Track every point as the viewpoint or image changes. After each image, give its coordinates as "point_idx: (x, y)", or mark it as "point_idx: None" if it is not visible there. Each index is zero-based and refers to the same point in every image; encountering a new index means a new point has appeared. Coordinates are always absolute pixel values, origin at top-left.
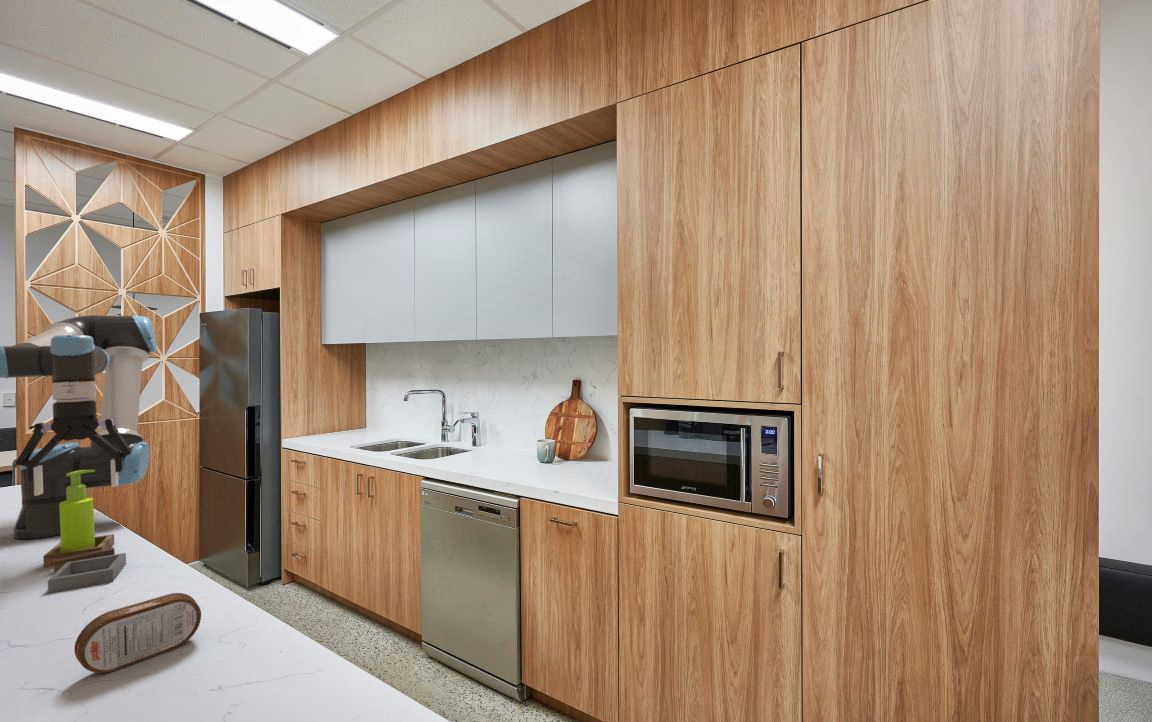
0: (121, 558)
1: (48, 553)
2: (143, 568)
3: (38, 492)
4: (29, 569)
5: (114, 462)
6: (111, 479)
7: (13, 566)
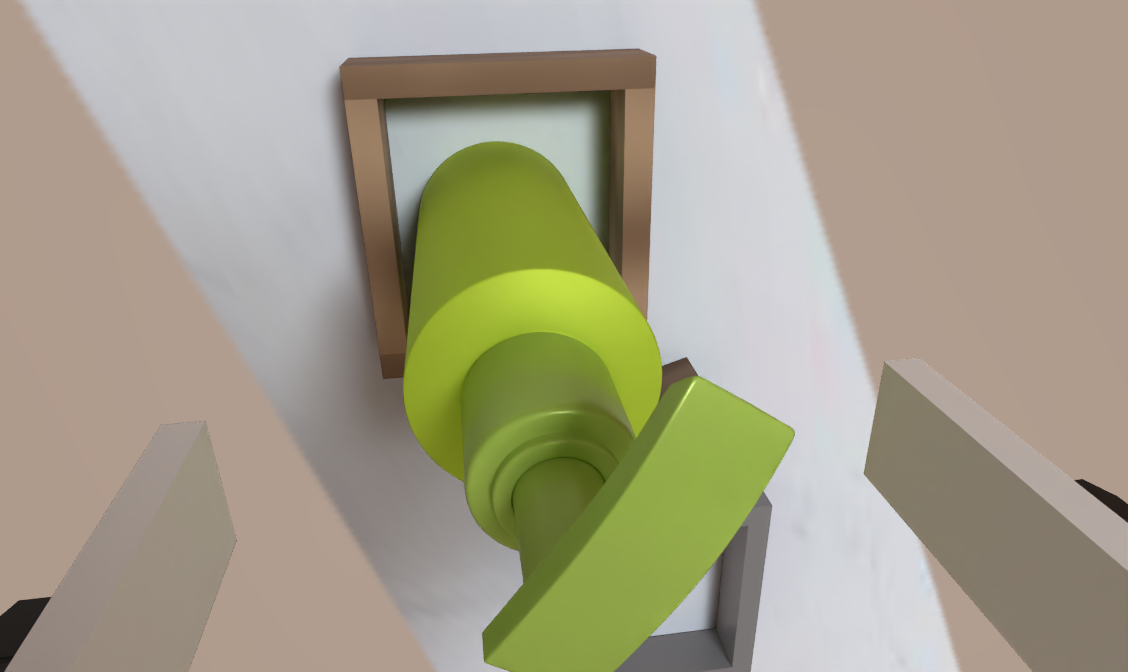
0: (763, 571)
1: (388, 337)
2: (816, 553)
3: (224, 562)
4: (324, 347)
5: None
6: (914, 532)
7: (191, 242)
